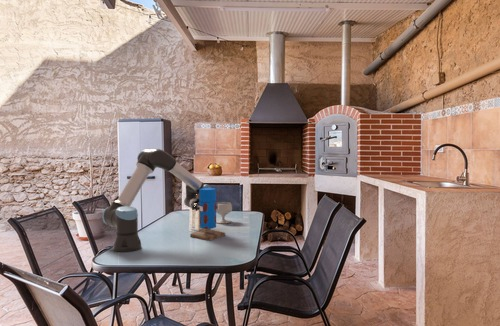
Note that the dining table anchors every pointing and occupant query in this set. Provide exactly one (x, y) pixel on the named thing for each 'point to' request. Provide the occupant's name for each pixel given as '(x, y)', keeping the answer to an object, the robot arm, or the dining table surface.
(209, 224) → the blue tower block
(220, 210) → the chalice
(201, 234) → the walnut board
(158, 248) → the dining table surface
